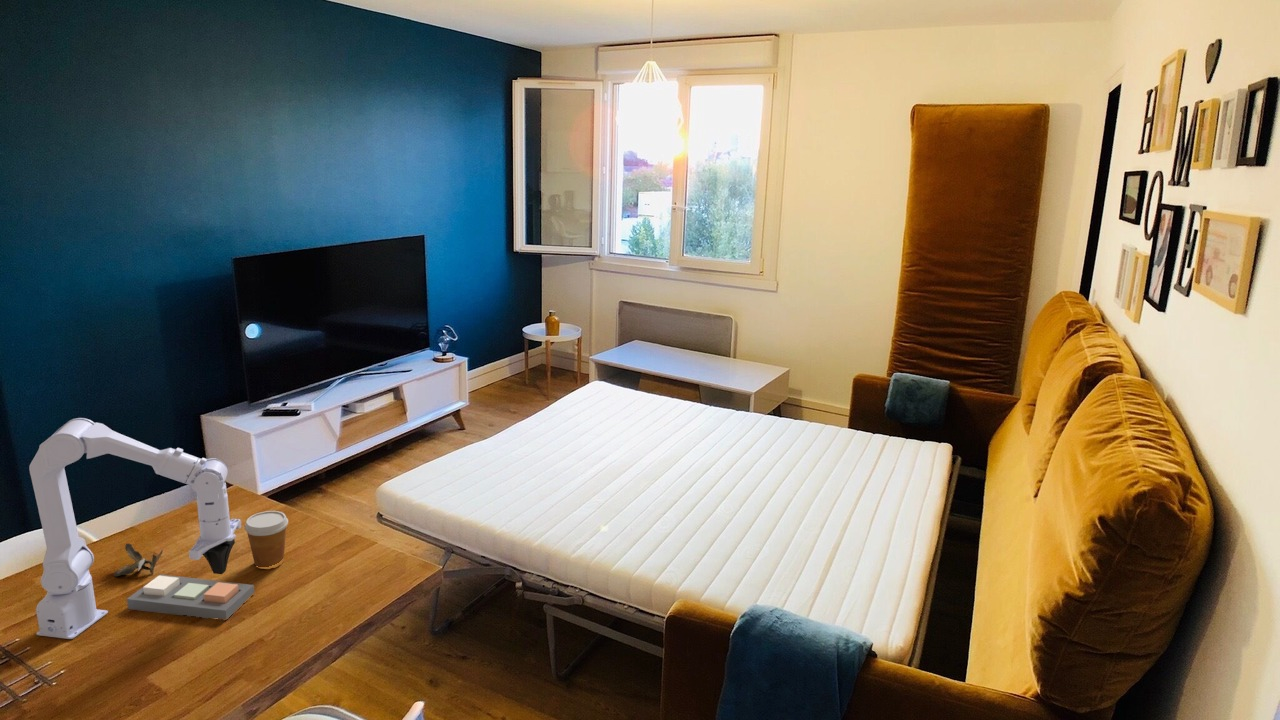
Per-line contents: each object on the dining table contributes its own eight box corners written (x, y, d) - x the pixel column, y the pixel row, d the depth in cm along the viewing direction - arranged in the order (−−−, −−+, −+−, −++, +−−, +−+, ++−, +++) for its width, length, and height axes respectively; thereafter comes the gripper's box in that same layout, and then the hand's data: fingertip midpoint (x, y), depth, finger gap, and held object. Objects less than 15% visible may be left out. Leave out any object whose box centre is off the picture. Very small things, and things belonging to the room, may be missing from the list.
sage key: (195, 607, 161) (194, 597, 161) (174, 605, 162) (173, 594, 161) (209, 595, 166) (208, 585, 165) (189, 592, 166) (188, 582, 166)
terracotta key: (225, 607, 161) (224, 596, 160) (204, 604, 161) (203, 594, 160) (239, 594, 165) (238, 584, 164) (218, 592, 166) (217, 582, 165)
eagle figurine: (167, 557, 178) (129, 550, 177) (160, 544, 173) (120, 536, 172) (150, 587, 173) (110, 579, 172) (142, 574, 168) (101, 566, 167)
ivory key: (165, 600, 162) (163, 589, 161) (144, 597, 162) (143, 587, 161) (180, 587, 166) (179, 577, 166) (160, 585, 167) (159, 575, 166)
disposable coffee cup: (239, 565, 179) (235, 521, 176) (274, 549, 187) (271, 506, 184) (264, 578, 175) (261, 532, 171) (299, 560, 183) (296, 516, 180)
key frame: (226, 620, 158) (225, 610, 158) (128, 609, 160) (126, 598, 159) (254, 594, 168) (253, 585, 167) (161, 583, 170) (160, 574, 169)
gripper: (209, 534, 150) (215, 592, 154) (252, 502, 164) (256, 557, 168) (176, 530, 151) (183, 588, 154) (222, 499, 165) (227, 553, 168)
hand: (219, 572), depth 161 cm, fingers closed
